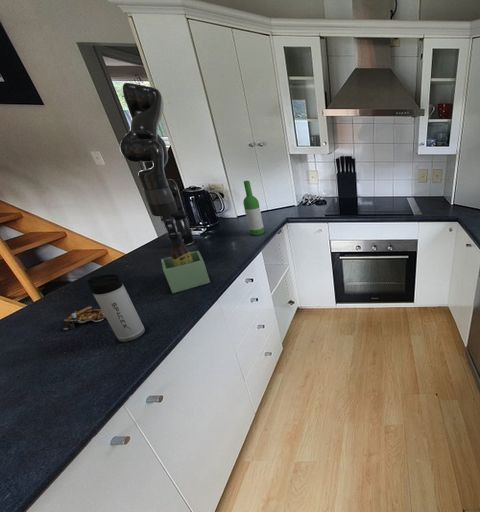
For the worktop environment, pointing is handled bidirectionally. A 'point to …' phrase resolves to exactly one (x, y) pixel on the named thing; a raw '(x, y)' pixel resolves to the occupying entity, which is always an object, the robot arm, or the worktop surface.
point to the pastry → (84, 317)
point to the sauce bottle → (180, 252)
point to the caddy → (185, 273)
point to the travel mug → (116, 306)
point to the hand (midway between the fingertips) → (176, 244)
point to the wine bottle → (252, 211)
